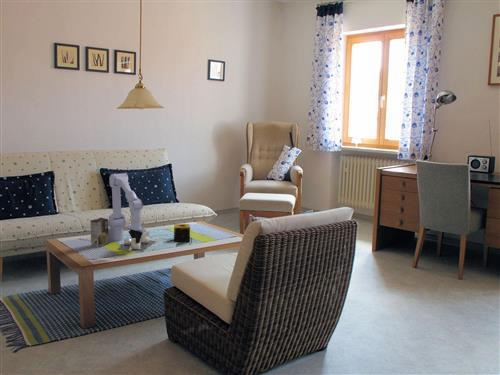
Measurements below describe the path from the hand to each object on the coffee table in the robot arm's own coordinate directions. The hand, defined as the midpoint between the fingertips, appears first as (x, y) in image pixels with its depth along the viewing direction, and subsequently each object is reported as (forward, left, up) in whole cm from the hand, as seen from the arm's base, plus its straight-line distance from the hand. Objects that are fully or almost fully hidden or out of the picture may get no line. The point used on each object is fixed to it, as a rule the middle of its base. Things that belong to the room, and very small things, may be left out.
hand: (136, 242), depth 301 cm
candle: (+19, +30, -6) cm, 36 cm away
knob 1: (0, 0, -4) cm, 4 cm away
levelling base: (-2, +7, -5) cm, 9 cm away
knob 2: (0, +14, -4) cm, 14 cm away
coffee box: (-26, +6, -6) cm, 27 cm away
